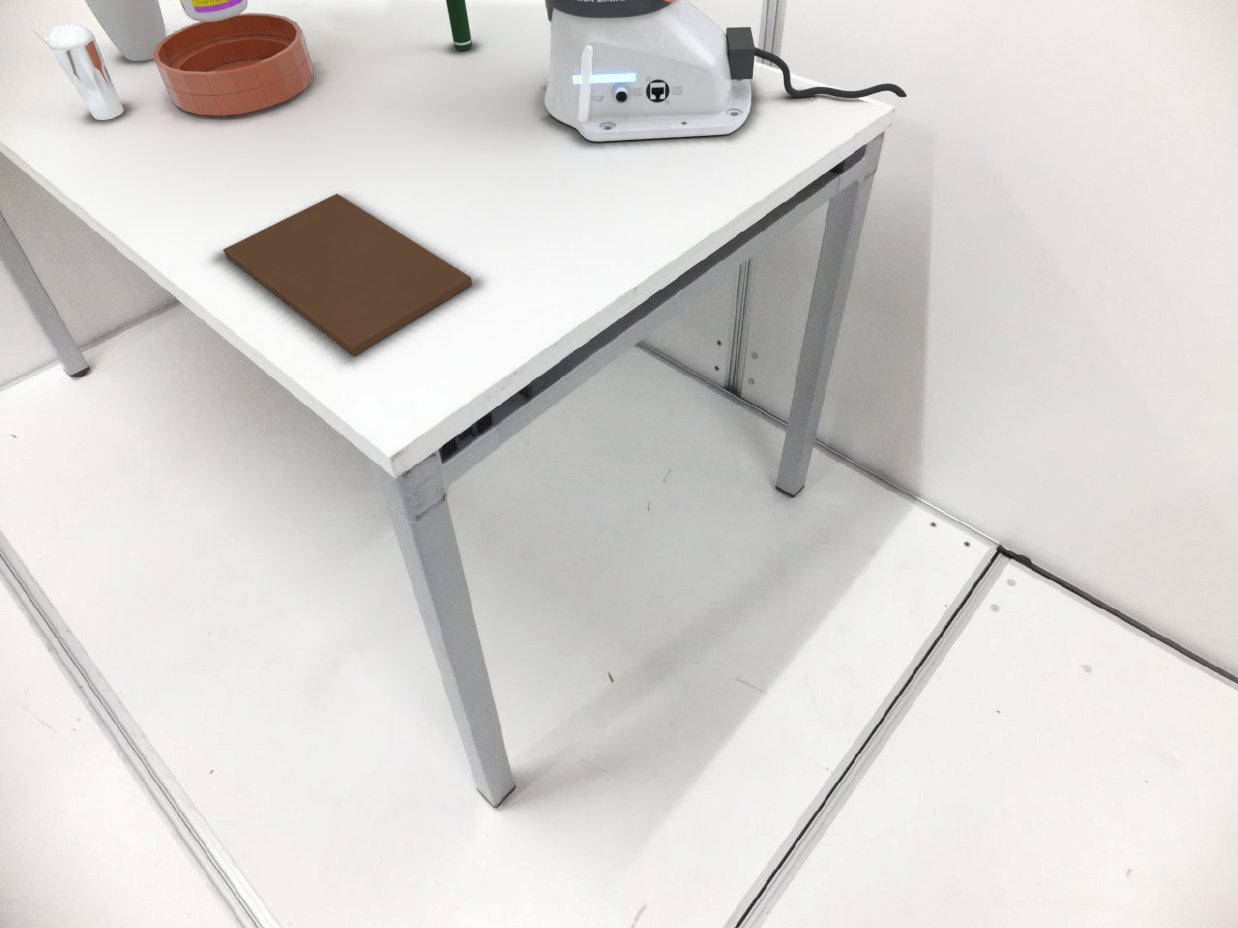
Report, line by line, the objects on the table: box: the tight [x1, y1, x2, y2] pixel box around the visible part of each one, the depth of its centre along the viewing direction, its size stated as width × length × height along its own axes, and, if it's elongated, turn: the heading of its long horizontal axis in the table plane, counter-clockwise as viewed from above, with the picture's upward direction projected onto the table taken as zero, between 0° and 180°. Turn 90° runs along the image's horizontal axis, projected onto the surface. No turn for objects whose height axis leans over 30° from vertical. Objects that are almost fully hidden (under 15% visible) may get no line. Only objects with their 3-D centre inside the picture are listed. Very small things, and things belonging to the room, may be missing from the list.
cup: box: [84, 0, 167, 62], centre depth 99 cm, size 8×8×10 cm
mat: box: [222, 193, 473, 357], centre depth 71 cm, size 20×12×1 cm, turn 46°
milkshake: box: [31, 23, 125, 121], centre depth 89 cm, size 4×5×10 cm
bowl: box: [153, 12, 315, 116], centre depth 94 cm, size 16×16×5 cm
